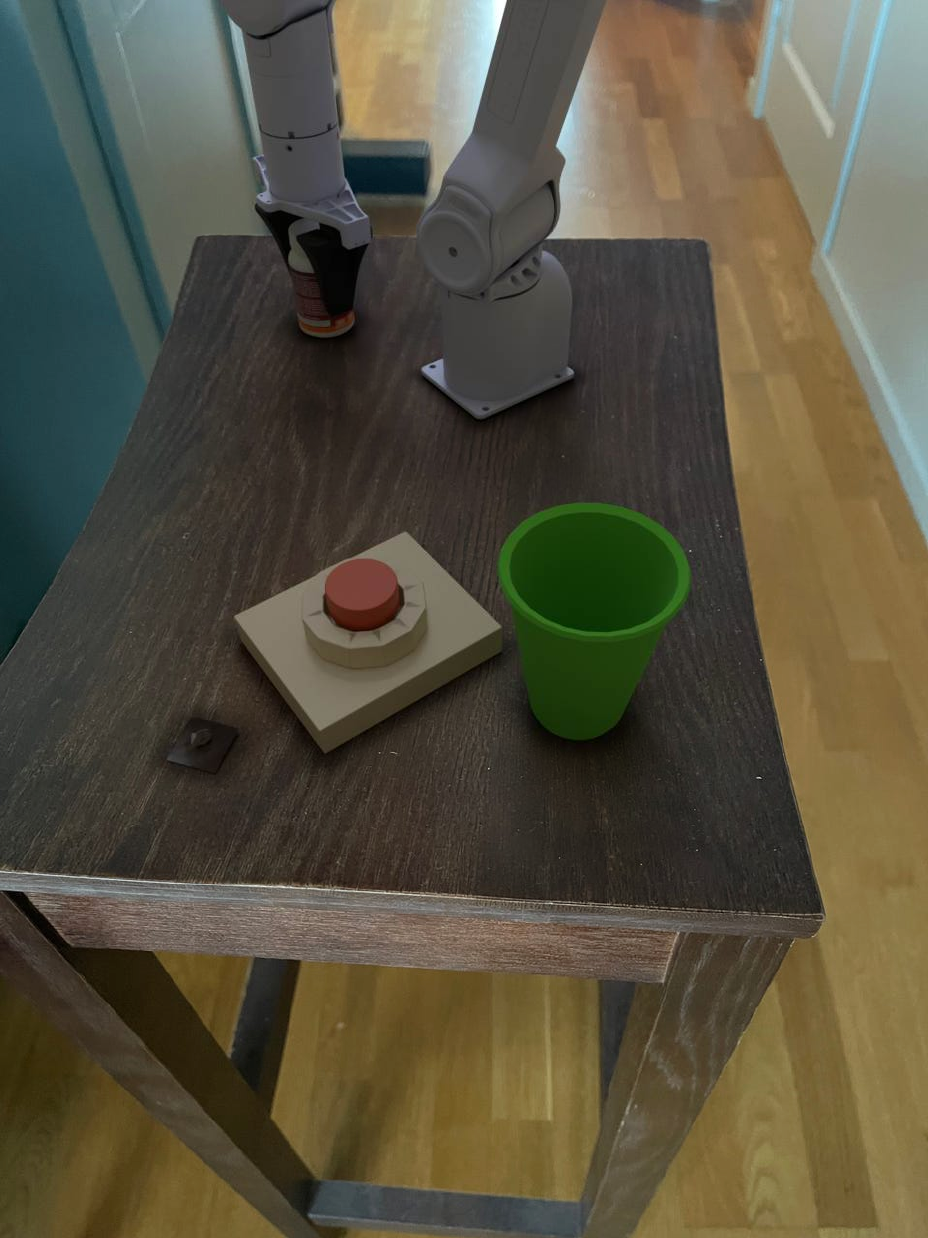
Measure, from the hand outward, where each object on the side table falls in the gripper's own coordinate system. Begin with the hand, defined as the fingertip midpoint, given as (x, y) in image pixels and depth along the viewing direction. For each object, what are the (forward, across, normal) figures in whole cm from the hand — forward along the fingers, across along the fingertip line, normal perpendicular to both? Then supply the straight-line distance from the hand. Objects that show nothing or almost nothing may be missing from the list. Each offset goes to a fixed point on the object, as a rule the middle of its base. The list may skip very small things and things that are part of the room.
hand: (323, 297), depth 76 cm
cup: (+3, +43, -9) cm, 44 cm away
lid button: (-1, +32, -16) cm, 36 cm away
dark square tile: (+3, +33, -27) cm, 43 cm away
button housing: (+2, +32, -16) cm, 36 cm away
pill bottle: (+3, 0, 0) cm, 3 cm away
